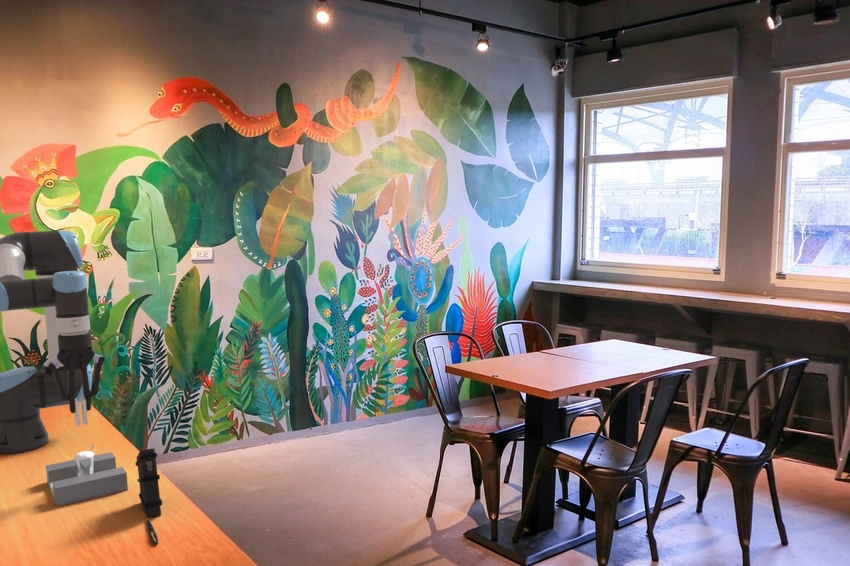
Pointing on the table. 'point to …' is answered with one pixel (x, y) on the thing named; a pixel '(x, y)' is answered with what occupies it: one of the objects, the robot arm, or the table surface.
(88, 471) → the milkshake
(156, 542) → the fountain pen
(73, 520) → the table surface
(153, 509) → the black ribbed column
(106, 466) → the frame
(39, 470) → the table surface
